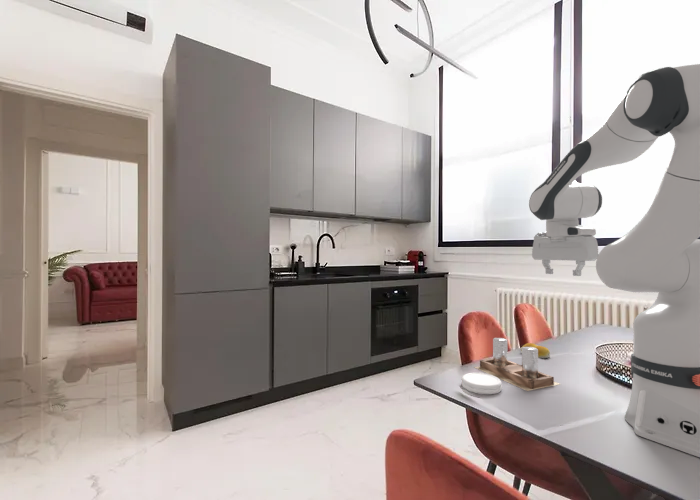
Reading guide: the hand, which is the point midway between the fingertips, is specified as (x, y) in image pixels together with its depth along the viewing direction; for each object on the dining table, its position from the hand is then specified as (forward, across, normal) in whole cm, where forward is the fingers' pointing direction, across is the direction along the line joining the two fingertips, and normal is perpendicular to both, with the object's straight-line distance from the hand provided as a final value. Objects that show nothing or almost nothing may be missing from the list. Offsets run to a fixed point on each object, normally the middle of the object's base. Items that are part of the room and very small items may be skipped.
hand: (562, 274), depth 111 cm
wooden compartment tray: (+29, +2, -22) cm, 36 cm away
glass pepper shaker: (+28, -4, -22) cm, 36 cm away
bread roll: (+30, -13, +3) cm, 33 cm away
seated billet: (+28, +7, -22) cm, 36 cm away
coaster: (+30, +5, -37) cm, 48 cm away
